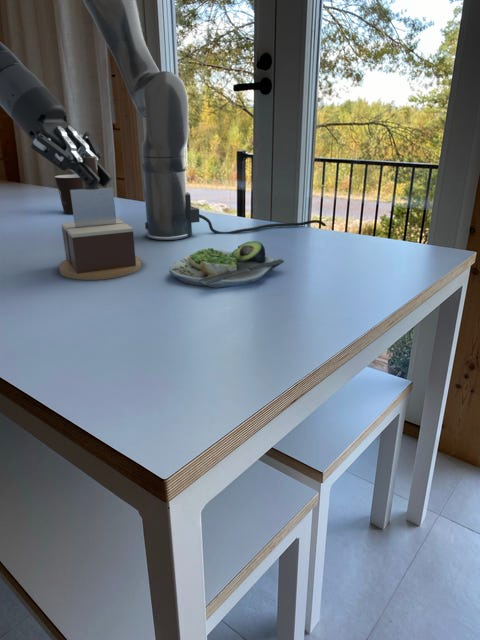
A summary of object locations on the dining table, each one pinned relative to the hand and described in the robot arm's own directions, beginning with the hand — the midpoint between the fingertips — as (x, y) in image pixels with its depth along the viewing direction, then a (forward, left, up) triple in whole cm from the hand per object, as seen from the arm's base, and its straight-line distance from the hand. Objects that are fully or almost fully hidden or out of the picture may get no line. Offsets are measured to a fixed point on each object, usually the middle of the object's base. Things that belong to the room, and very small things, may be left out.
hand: (101, 183), depth 78 cm
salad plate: (-17, +11, -15) cm, 25 cm away
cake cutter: (+1, -2, -8) cm, 8 cm away
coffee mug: (-6, -62, -15) cm, 64 cm away
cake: (+1, -2, -15) cm, 15 cm away
